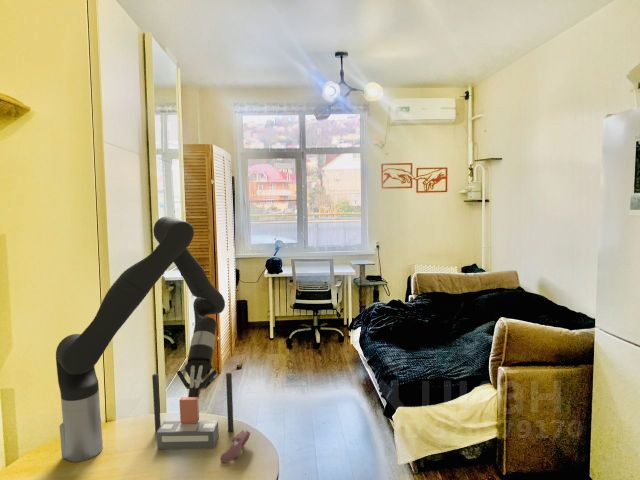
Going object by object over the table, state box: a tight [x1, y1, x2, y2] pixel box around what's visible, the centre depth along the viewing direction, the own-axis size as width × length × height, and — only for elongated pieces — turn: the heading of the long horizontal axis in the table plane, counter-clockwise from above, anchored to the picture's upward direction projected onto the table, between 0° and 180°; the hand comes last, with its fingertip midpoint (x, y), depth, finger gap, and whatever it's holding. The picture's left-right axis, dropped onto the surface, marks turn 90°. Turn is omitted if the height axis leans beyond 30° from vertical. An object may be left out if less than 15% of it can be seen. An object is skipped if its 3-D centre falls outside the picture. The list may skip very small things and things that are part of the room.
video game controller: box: [219, 429, 251, 464], centre depth 121 cm, size 10×5×7 cm, turn 169°
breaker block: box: [155, 420, 220, 450], centre depth 126 cm, size 16×6×5 cm, turn 90°
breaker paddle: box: [179, 396, 200, 423], centre depth 128 cm, size 5×2×7 cm, turn 90°
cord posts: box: [151, 372, 235, 434], centre depth 132 cm, size 24×2×18 cm, turn 90°
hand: (192, 401), depth 131 cm, fingers closed
